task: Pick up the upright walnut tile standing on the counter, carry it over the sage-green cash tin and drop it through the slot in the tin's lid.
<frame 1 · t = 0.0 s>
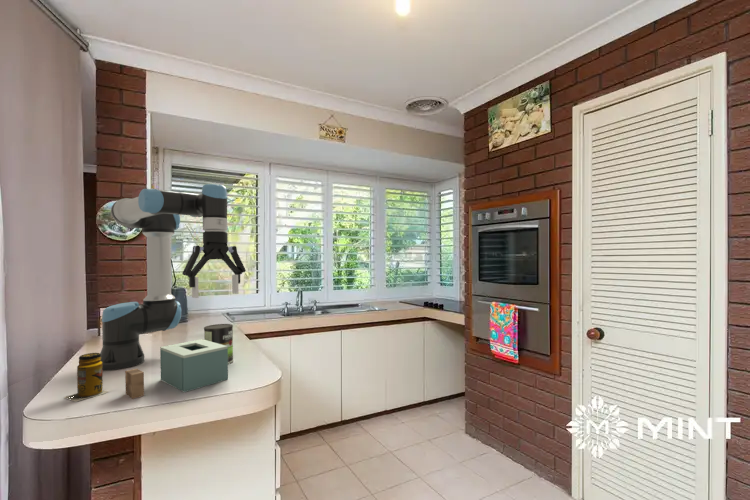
hand: (216, 295, 120), 28 cm above the table, fingers open, 13 cm apart
cash tin: (194, 379, 121), on the table
walnut tile: (134, 395, 109), on the table
coffee can: (219, 363, 141), on the table
condiment: (86, 395, 109), on the table
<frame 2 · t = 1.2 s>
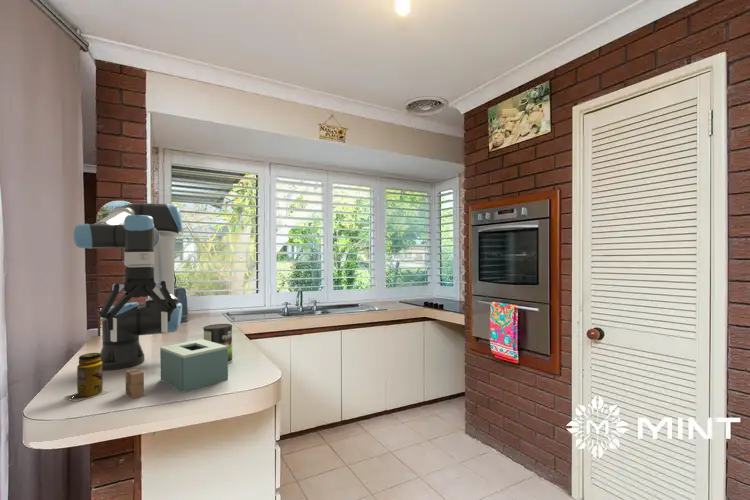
hand: (140, 336, 110), 17 cm above the table, fingers open, 13 cm apart
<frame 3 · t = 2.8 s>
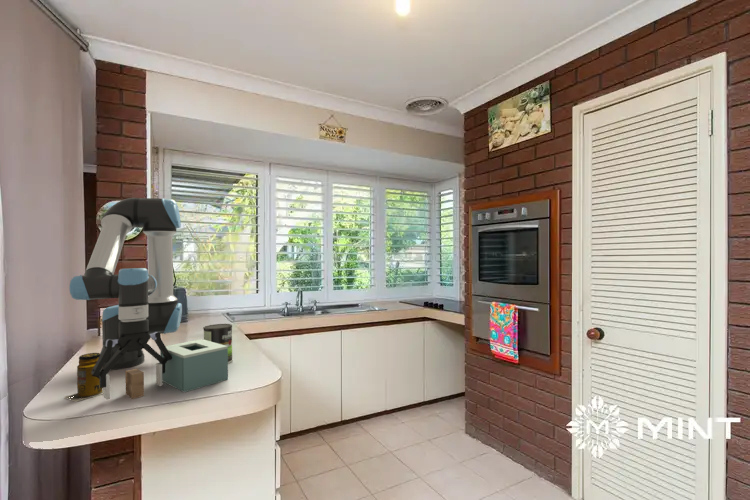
hand: (134, 391, 108), 1 cm above the table, fingers open, 13 cm apart
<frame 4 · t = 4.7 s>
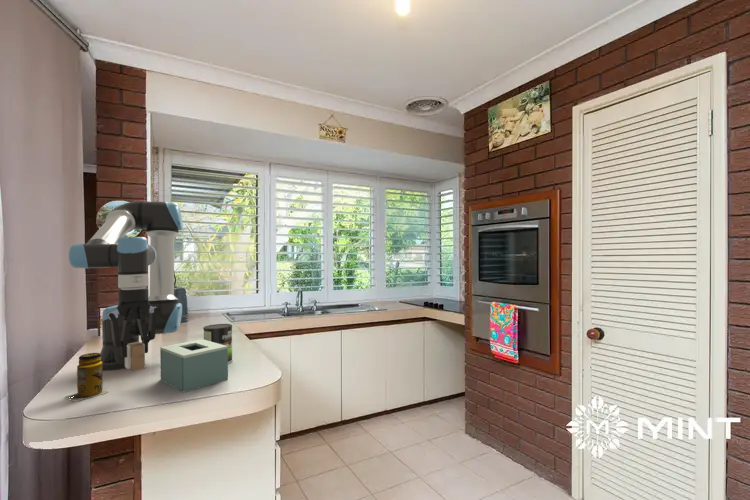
hand: (135, 365, 109), 8 cm above the table, fingers closed on walnut tile, 3 cm apart
walnut tile: (135, 367, 109), point 8 cm above the table, touching gripper
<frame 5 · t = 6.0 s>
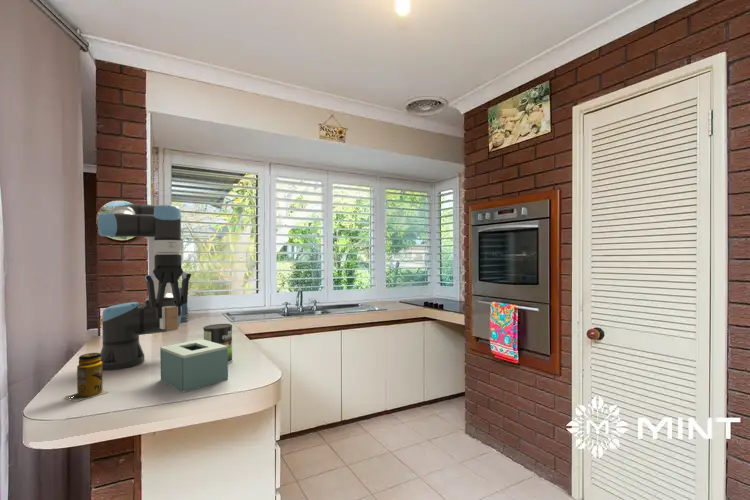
hand: (169, 327, 116), 19 cm above the table, fingers closed on walnut tile, 3 cm apart
walnut tile: (169, 329, 116), point 18 cm above the table, touching gripper
when the fingers open (13 cm above the table, at t = 7.7 s): walnut tile drops 11 cm, resting on cash tin.
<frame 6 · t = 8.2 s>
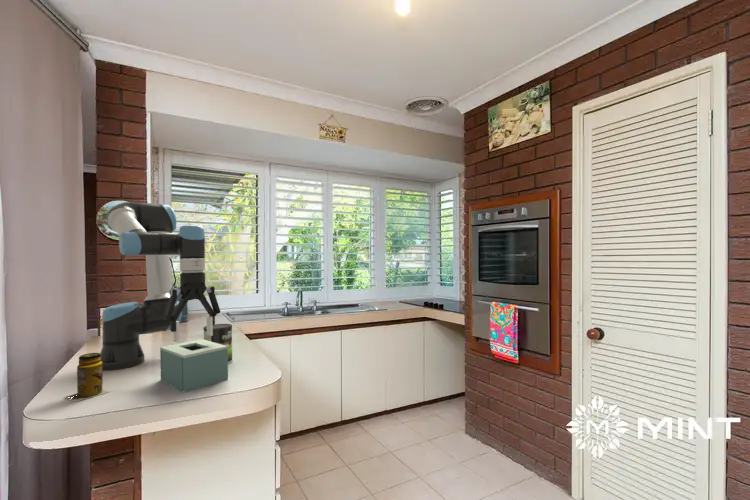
hand: (193, 338, 121), 14 cm above the table, fingers open, 10 cm apart
walnut tile: (194, 378, 121), point 1 cm above the table, touching cash tin
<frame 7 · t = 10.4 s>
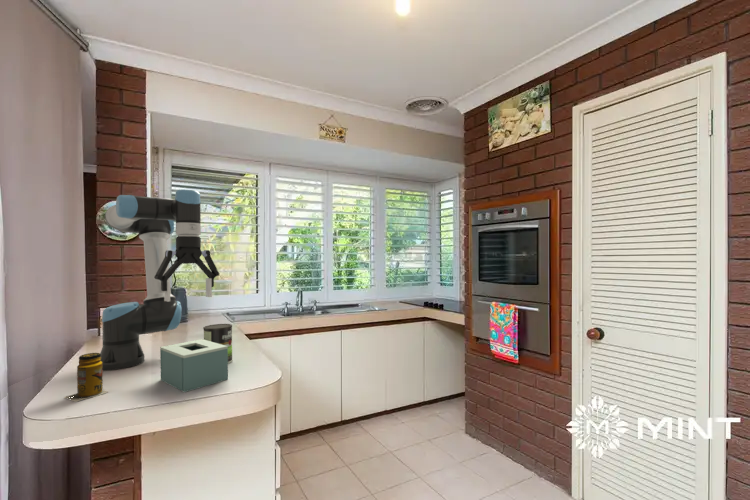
hand: (188, 299, 123), 27 cm above the table, fingers open, 13 cm apart
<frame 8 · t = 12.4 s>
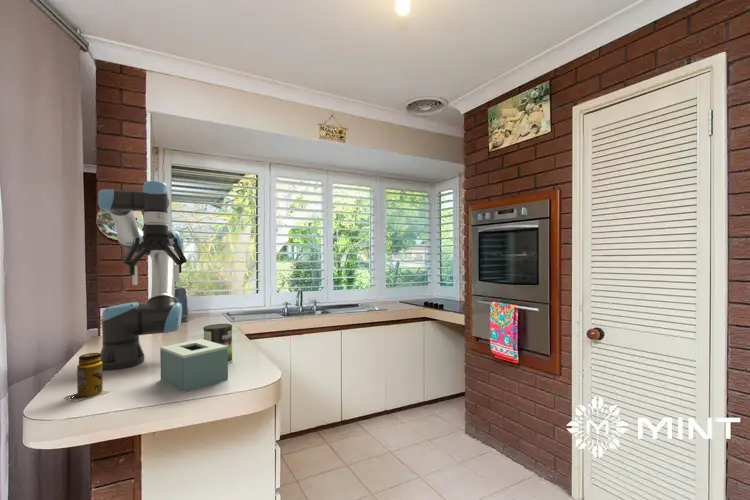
hand: (156, 283, 131), 32 cm above the table, fingers open, 13 cm apart
at the end: walnut tile inside the target area on the cash tin (0.3 cm from its centre), point 0.6 cm above the cash tin's base; the gripper is holding nothing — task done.
